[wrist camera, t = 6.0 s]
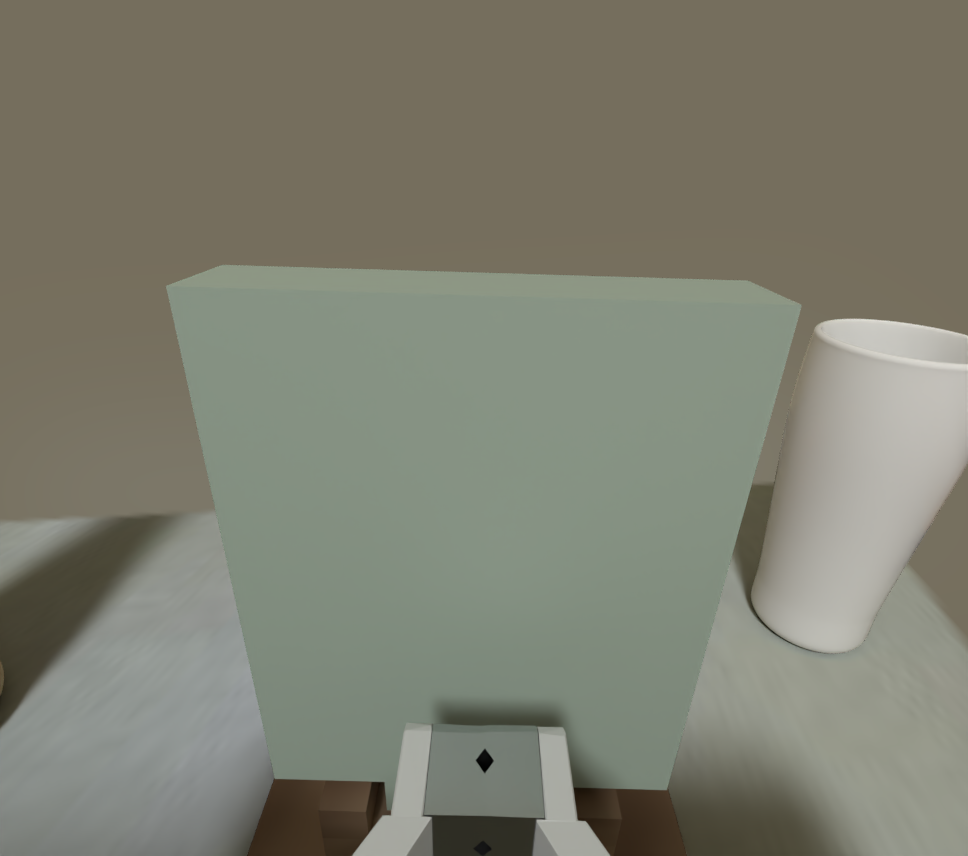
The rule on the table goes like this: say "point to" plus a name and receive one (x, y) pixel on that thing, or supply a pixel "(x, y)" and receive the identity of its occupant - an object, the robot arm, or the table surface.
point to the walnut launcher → (360, 804)
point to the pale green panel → (477, 499)
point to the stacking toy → (1, 677)
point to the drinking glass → (859, 475)
